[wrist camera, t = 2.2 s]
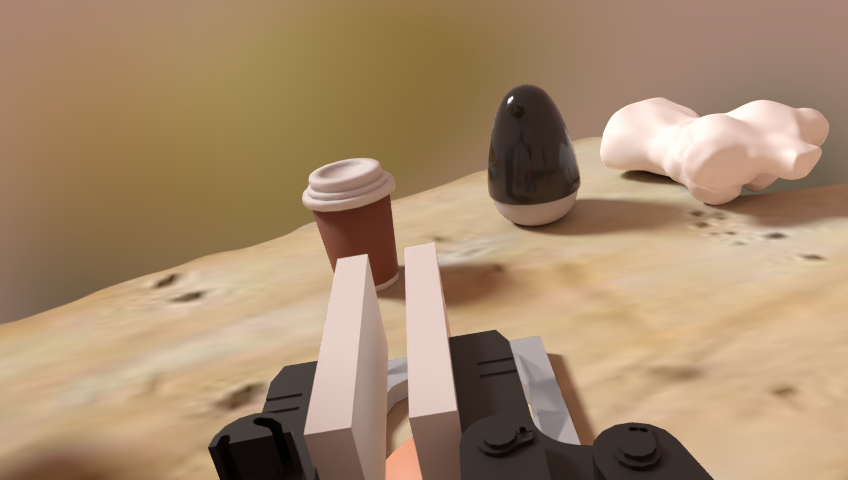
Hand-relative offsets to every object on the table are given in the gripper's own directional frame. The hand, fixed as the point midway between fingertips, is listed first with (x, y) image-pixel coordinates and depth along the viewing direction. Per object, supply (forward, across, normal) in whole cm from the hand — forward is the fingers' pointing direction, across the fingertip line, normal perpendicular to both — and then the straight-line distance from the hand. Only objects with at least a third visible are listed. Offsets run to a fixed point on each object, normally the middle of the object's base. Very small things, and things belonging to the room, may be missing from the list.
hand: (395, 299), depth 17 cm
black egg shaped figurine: (+56, +12, -22) cm, 61 cm away
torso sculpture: (+56, +32, -22) cm, 68 cm away
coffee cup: (+47, -7, -22) cm, 52 cm away
